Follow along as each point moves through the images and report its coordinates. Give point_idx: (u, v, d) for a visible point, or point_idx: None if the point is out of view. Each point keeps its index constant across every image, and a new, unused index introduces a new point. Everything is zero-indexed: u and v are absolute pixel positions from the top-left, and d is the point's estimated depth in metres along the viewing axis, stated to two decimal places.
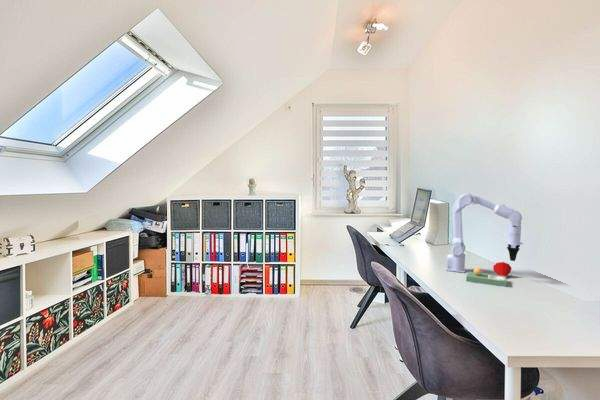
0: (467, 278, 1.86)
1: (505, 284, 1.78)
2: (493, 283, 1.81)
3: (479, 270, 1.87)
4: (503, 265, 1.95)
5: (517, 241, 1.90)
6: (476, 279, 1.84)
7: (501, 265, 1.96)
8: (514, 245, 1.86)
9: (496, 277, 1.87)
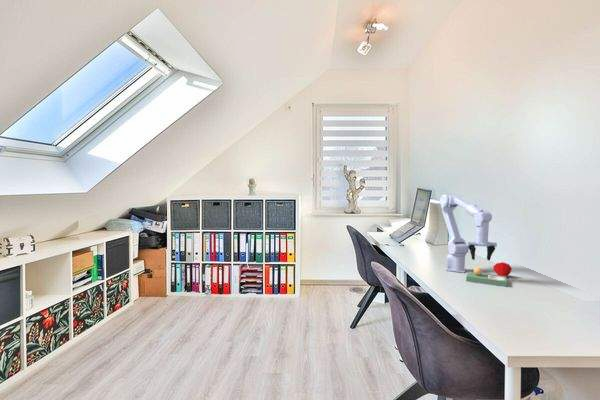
0: (467, 278, 1.86)
1: (505, 284, 1.78)
2: (493, 283, 1.81)
3: (479, 270, 1.87)
4: (503, 265, 1.95)
5: (478, 241, 1.90)
6: (476, 279, 1.84)
7: (501, 265, 1.95)
8: (467, 243, 1.91)
9: (496, 277, 1.87)
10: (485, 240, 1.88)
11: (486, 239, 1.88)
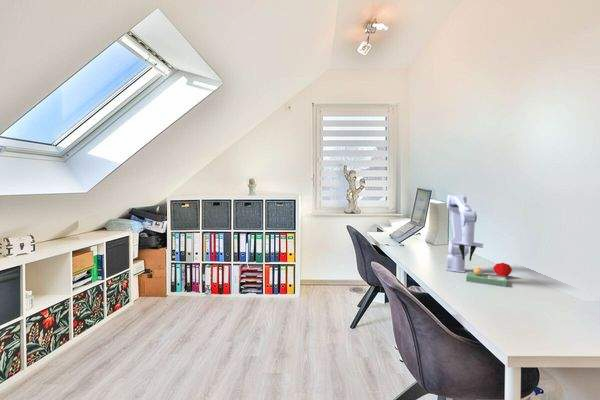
0: (467, 278, 1.86)
1: (505, 284, 1.78)
2: (493, 283, 1.81)
3: (479, 270, 1.87)
4: (503, 266, 1.94)
5: (462, 240, 1.90)
6: (476, 279, 1.84)
7: (501, 266, 1.94)
8: (452, 242, 1.93)
9: (496, 277, 1.87)
10: (469, 240, 1.87)
11: (470, 239, 1.87)
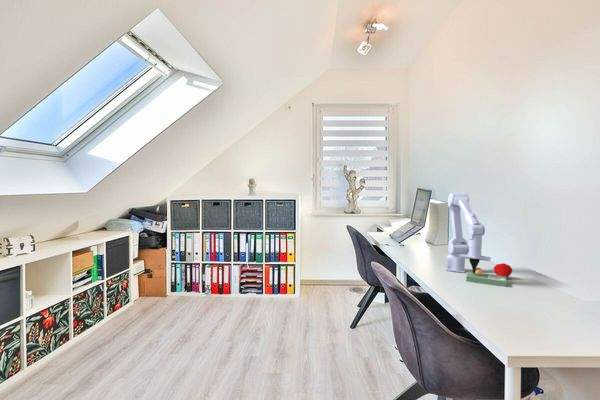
0: (467, 278, 1.86)
1: (505, 284, 1.78)
2: (493, 283, 1.81)
3: (480, 271, 1.87)
4: (504, 266, 1.92)
5: (469, 254, 1.88)
6: (476, 279, 1.84)
7: (501, 266, 1.93)
8: (459, 255, 1.92)
9: (496, 277, 1.87)
10: (476, 253, 1.86)
11: (477, 253, 1.86)
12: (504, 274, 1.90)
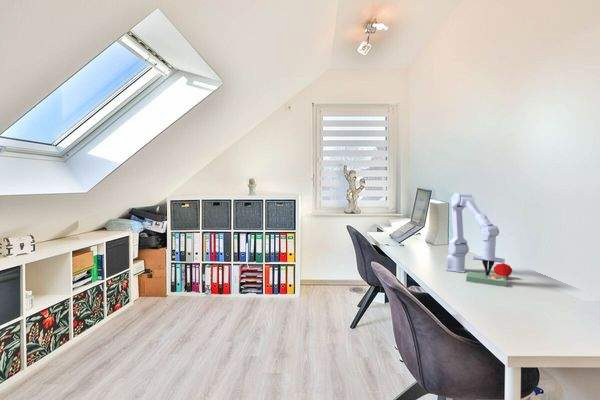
0: (467, 278, 1.86)
1: (505, 284, 1.78)
2: (493, 283, 1.81)
3: None
4: (504, 266, 1.92)
5: (483, 255, 1.86)
6: (476, 279, 1.84)
7: (501, 266, 1.93)
8: None
9: None
10: (490, 255, 1.83)
11: (491, 254, 1.83)
12: (504, 274, 1.90)
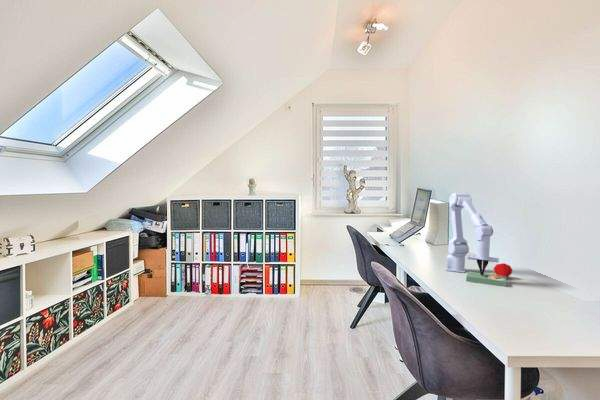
0: (467, 278, 1.86)
1: (505, 284, 1.78)
2: (493, 283, 1.81)
3: None
4: (504, 266, 1.92)
5: (477, 255, 1.87)
6: (476, 279, 1.84)
7: (502, 266, 1.93)
8: (467, 256, 1.90)
9: None
10: (484, 255, 1.84)
11: (486, 254, 1.84)
12: (504, 274, 1.90)
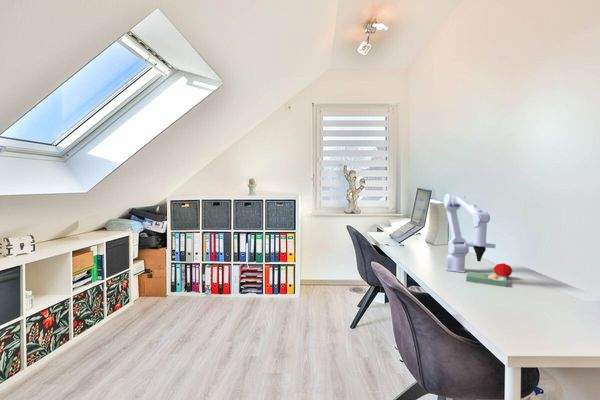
0: (467, 278, 1.86)
1: (505, 284, 1.78)
2: (493, 283, 1.81)
3: None
4: (504, 266, 1.92)
5: (475, 242, 1.88)
6: (476, 279, 1.84)
7: (502, 266, 1.93)
8: (464, 243, 1.90)
9: None
10: (482, 241, 1.86)
11: (483, 240, 1.86)
12: (504, 274, 1.90)
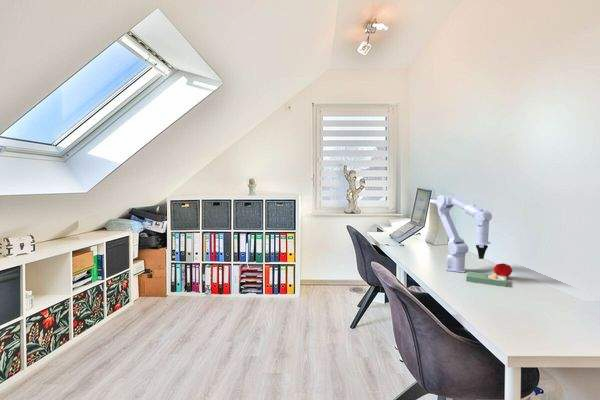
0: (467, 278, 1.86)
1: (505, 284, 1.78)
2: (493, 283, 1.81)
3: None
4: (504, 266, 1.92)
5: (485, 241, 1.90)
6: (476, 279, 1.84)
7: (502, 266, 1.93)
8: (482, 245, 1.87)
9: None
10: None
11: None
12: (504, 274, 1.90)
